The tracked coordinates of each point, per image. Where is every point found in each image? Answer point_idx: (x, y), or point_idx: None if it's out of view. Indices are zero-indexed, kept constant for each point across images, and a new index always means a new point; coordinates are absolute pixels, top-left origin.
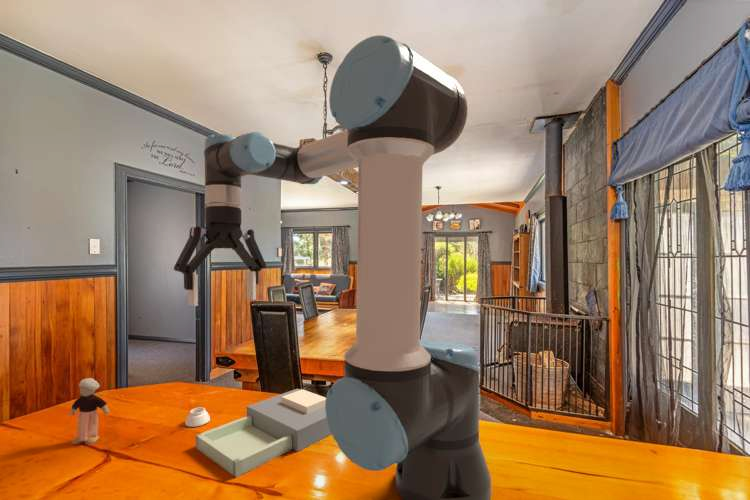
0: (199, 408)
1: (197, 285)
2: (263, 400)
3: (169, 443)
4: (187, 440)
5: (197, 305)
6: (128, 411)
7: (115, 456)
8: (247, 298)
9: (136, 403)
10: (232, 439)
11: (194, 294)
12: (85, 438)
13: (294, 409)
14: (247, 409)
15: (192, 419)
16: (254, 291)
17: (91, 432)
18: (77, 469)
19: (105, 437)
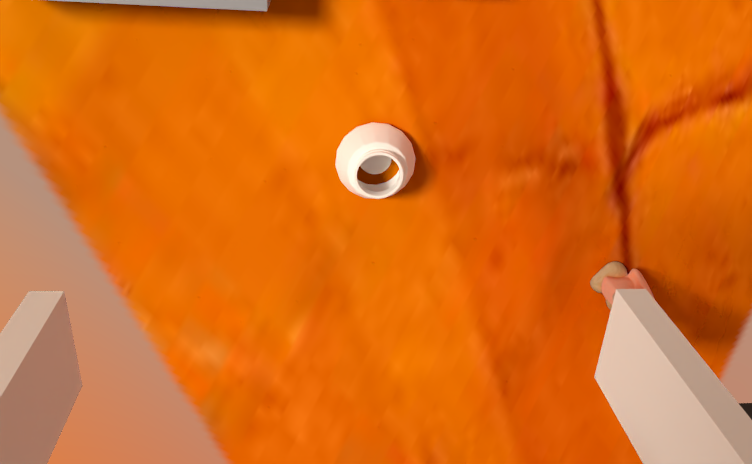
0: (363, 190)
1: (706, 409)
2: (183, 6)
3: (505, 87)
4: (463, 60)
5: (620, 289)
6: (461, 391)
7: (625, 134)
8: (79, 376)
9: (420, 430)
10: None
11: (690, 349)
12: (637, 272)
13: None
14: (267, 3)
15: (405, 151)
16: (15, 339)
17: (625, 282)
18: (706, 140)
19: (580, 270)
